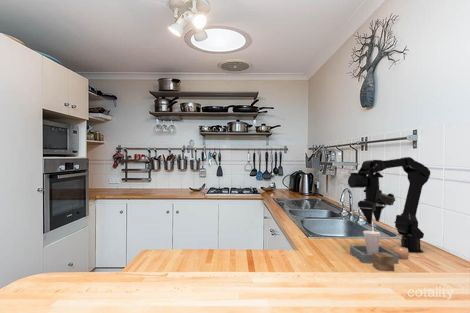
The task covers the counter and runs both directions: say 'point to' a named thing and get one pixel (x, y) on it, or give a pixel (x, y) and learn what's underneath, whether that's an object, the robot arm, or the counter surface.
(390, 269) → the walnut block
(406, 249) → the brown short cylinder
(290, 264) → the counter surface
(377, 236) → the smoothie
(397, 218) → the robot arm
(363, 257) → the tray
